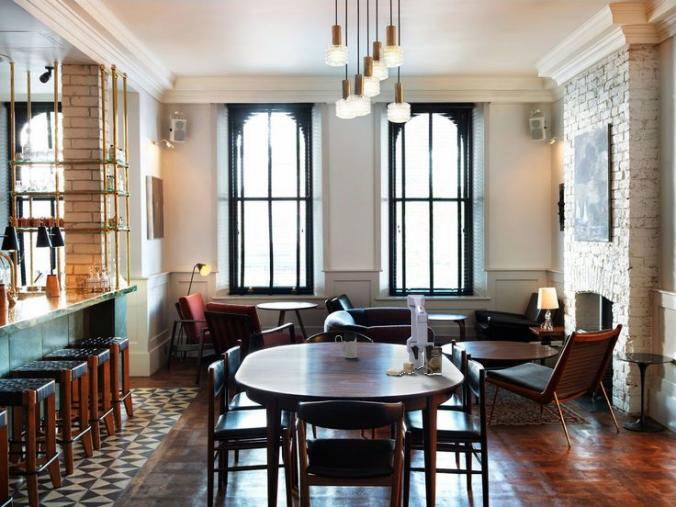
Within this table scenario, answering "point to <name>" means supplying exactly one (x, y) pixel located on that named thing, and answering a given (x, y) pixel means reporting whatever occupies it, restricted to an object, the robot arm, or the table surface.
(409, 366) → the block
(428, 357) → the robot arm
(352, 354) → the glass holder
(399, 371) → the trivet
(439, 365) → the coffee box
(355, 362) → the table surface
